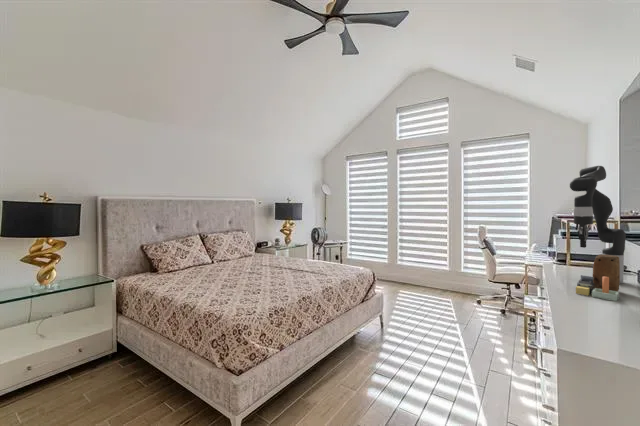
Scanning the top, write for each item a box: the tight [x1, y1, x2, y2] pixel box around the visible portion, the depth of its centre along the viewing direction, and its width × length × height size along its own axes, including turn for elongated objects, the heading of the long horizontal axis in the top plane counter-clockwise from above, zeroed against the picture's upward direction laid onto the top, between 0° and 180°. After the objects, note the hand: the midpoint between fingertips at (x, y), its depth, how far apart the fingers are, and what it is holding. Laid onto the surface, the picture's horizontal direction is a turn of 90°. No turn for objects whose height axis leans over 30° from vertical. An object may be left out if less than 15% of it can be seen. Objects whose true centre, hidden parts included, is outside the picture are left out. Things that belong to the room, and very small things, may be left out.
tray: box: [591, 288, 620, 302], centre depth 147 cm, size 9×9×3 cm
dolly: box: [576, 274, 594, 294], centre depth 157 cm, size 9×6×8 cm, turn 128°
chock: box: [575, 285, 591, 296], centre depth 153 cm, size 4×5×4 cm
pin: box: [602, 277, 609, 294], centre depth 147 cm, size 2×2×10 cm
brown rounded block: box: [592, 254, 621, 292], centre depth 158 cm, size 11×8×20 cm
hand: (583, 247), depth 151 cm, fingers closed
